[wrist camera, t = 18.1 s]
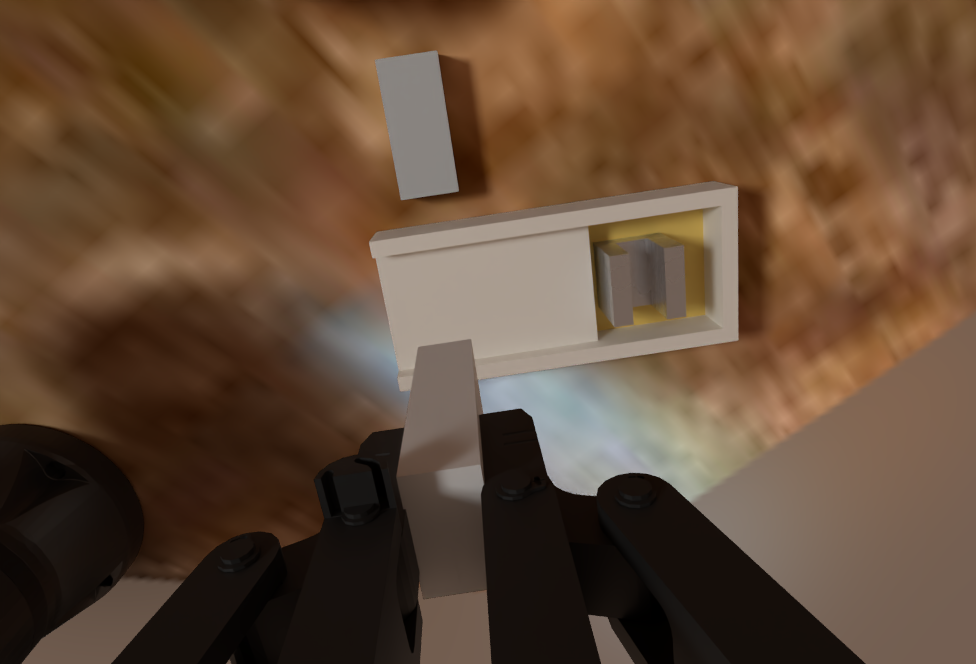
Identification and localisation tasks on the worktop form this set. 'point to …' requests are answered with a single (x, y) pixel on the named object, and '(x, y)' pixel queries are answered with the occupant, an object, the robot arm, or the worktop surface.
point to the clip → (640, 276)
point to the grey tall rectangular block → (418, 124)
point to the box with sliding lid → (556, 281)
